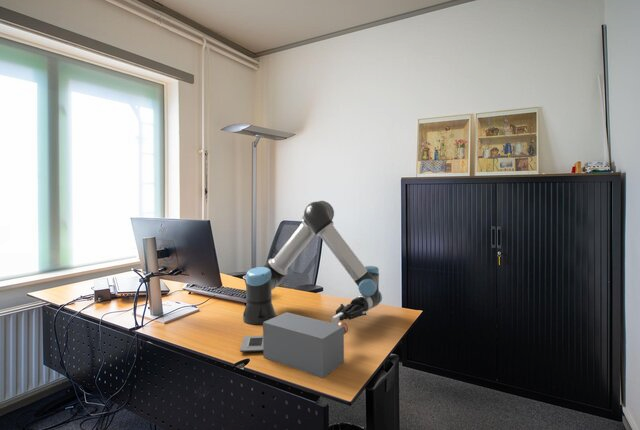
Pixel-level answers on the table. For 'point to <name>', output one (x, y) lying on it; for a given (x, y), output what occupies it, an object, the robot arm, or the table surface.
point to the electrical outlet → (252, 344)
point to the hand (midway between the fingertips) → (333, 320)
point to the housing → (304, 343)
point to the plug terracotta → (344, 326)
